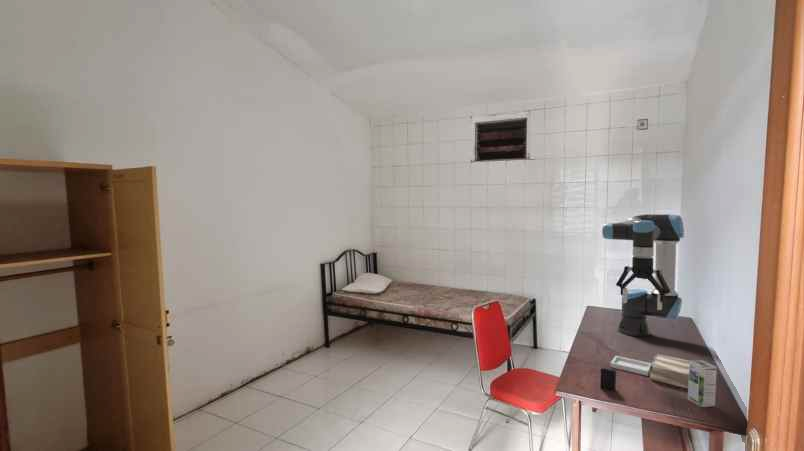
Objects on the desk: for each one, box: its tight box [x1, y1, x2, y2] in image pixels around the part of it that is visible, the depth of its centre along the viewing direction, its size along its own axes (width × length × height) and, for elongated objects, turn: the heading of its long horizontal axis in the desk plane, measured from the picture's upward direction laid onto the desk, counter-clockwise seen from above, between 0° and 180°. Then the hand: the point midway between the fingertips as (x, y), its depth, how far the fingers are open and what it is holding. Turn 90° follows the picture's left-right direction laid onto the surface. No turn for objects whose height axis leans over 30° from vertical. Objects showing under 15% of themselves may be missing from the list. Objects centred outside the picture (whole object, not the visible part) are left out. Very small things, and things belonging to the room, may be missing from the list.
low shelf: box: [649, 353, 690, 389], centre depth 158 cm, size 16×14×6 cm
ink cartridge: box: [599, 366, 617, 392], centre depth 149 cm, size 5×2×8 cm, turn 52°
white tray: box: [609, 355, 652, 377], centre depth 167 cm, size 10×14×2 cm
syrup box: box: [687, 359, 717, 408], centre depth 137 cm, size 6×6×14 cm
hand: (641, 306), depth 166 cm, fingers open, 13 cm apart
